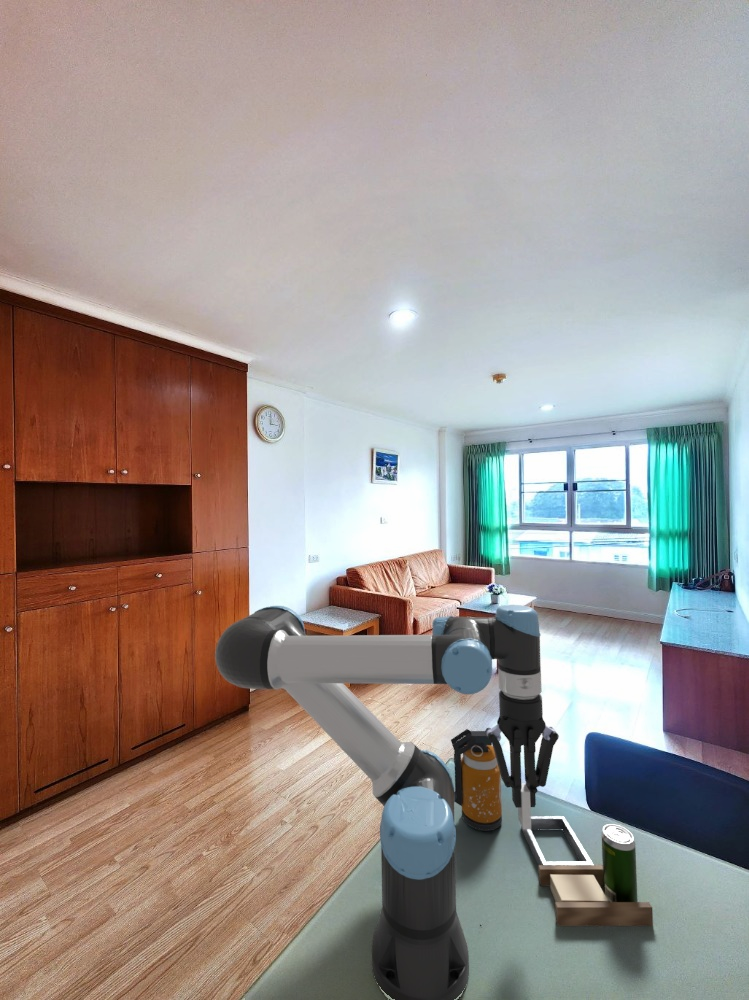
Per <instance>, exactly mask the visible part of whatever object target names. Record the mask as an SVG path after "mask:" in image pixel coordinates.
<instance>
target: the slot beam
mask: <svg viewBox="0 0 749 1000" xmlns="http://www.w3.org/2000/svg"><path fill="white" fill-rule="evenodd" d="M537 866H538V883H539V885H540V886H541V887H542V886H543V887H550V874H556V875H594V877H595V879H596V880H597V882H598V884H599V885H600V887H603V864H593V865H538V864H537ZM554 909H555V910H554V912H555V922H556V924H557V927H561V926H562V927H565V926H567V927H572V926H573V927H574V926H575V927H576V926H578V927H579V926H580V927H581V926H583V927H586V926H587V927H589V926H590V927H596V926H597V927H598V926H600V927H601V926H603V927H609V926H610V927H611V926H615V927H616V926H617V927H618V926H619V927H620V926H622V927H624V926H625V927H628V926H629V927H636V926H637V927H640V926H641V927H643V926H644V927H645V926H647V927H649V926H650V927H651V926H654V920H653V919H654V917H653V906H652V905H651V904H650V902H648V901H638V902H556V901H555V902H554Z"/></svg>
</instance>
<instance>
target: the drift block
mask: <svg viewBox="0 0 749 1000" xmlns="http://www.w3.org/2000/svg"><path fill="white" fill-rule="evenodd" d="M601 887H602V886H600V885H599V884H598V882H597V880H596V879H595V877H594V875H556V874H550V886H549V888H550V891H551V894H552V896H553V898H554V901H555V902H608V899H607V898H606V896H605V894H604V890H603V889H602V888H601Z"/></svg>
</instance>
